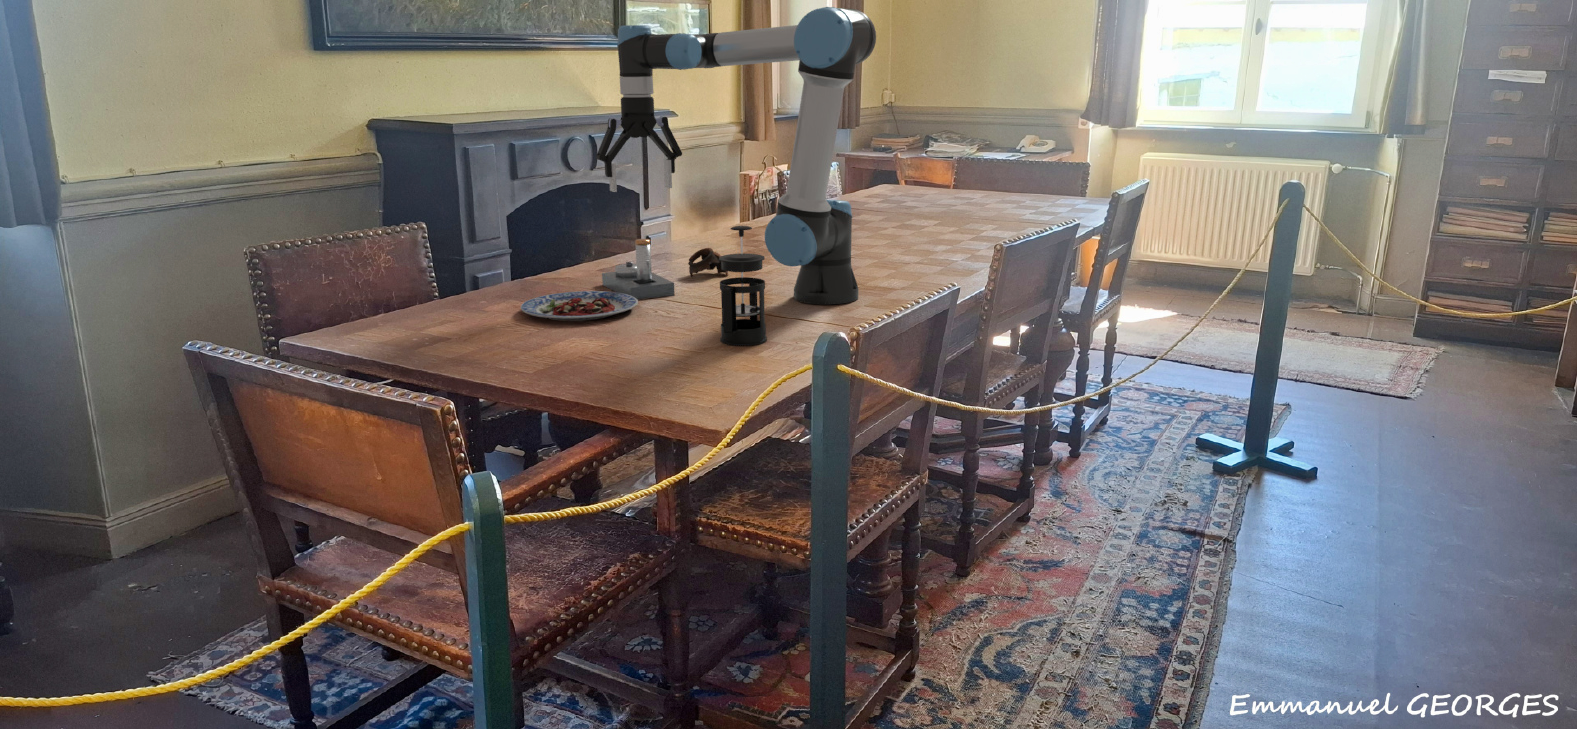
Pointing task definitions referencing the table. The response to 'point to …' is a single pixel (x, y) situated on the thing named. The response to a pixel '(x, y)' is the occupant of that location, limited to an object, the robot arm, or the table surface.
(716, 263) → the broken brown mug
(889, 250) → the table surface
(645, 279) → the pin
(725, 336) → the french press
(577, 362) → the table surface
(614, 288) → the block
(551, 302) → the ceramic plate
